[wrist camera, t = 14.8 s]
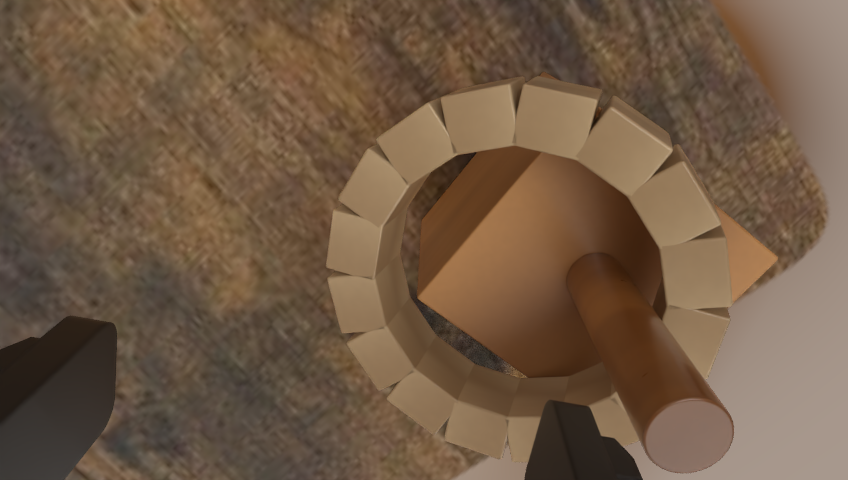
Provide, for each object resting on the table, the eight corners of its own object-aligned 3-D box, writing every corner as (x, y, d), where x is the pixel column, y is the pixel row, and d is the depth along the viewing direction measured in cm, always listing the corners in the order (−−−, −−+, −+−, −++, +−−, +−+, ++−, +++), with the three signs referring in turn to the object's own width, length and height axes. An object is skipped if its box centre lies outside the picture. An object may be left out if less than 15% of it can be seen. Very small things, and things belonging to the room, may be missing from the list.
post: (686, 190, 28) (986, 408, 13) (559, 323, 30) (687, 646, 15) (543, 70, 26) (691, 157, 11) (420, 221, 28) (405, 464, 13)
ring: (296, 199, 22) (259, 219, 20) (590, -5, 18) (584, -8, 15) (474, 462, 23) (457, 508, 21) (794, 336, 19) (814, 377, 17)
